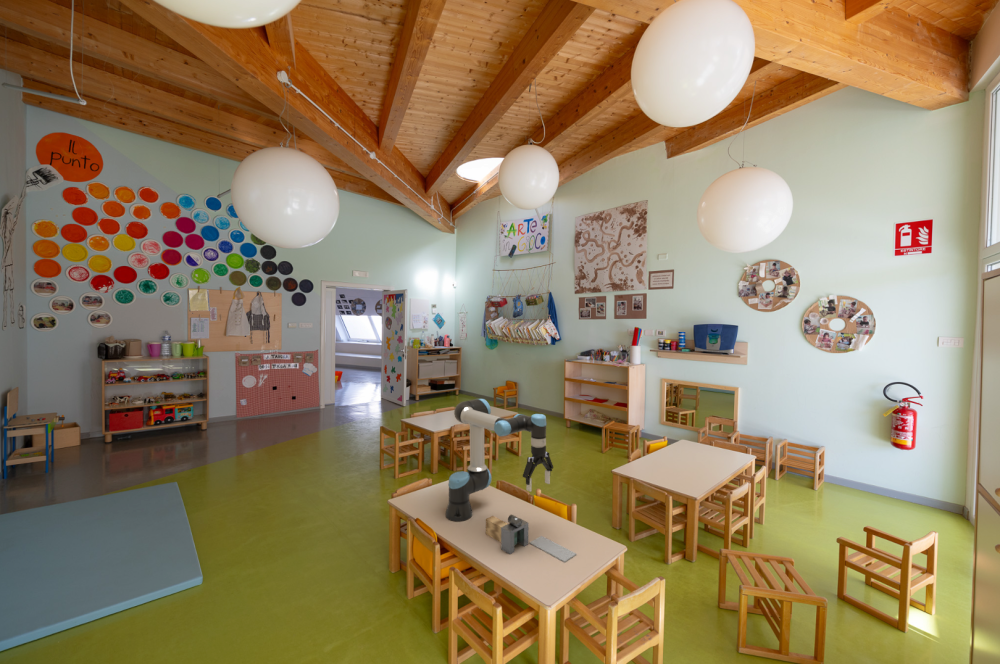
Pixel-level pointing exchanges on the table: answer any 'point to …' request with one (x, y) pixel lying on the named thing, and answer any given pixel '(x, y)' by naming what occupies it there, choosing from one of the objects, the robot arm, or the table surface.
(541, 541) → the mat
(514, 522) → the housing
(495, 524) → the plug
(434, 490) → the table surface
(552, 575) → the table surface
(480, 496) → the table surface
